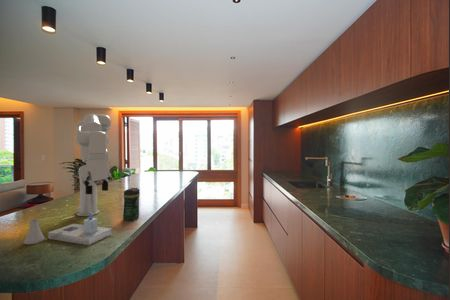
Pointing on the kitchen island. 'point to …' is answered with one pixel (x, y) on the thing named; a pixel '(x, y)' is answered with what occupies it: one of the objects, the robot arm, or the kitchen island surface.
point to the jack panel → (78, 234)
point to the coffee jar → (131, 204)
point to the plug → (90, 225)
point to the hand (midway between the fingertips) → (97, 192)
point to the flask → (34, 233)
